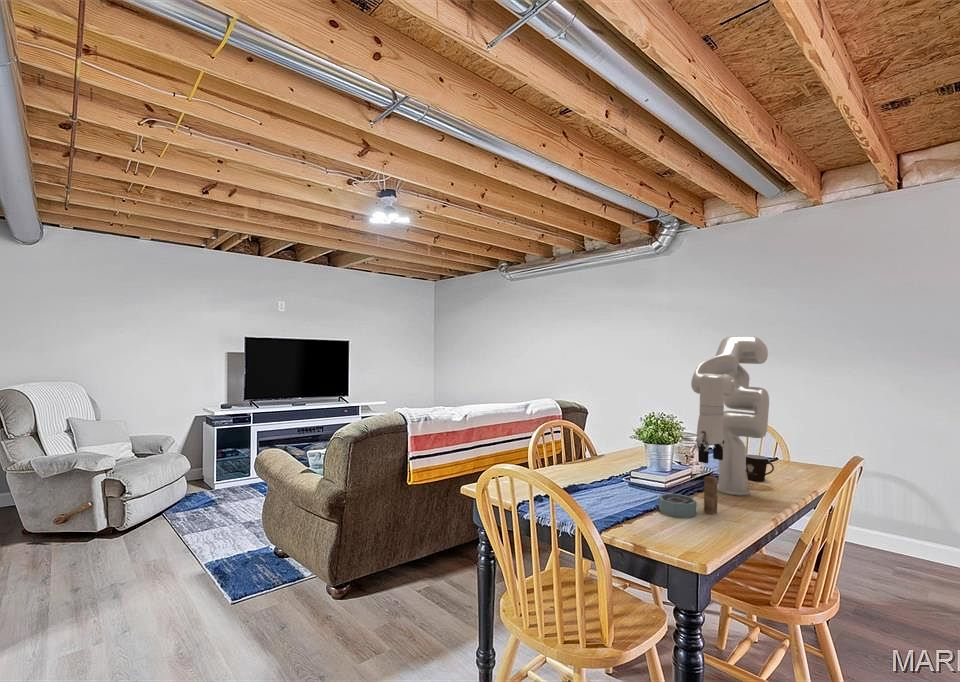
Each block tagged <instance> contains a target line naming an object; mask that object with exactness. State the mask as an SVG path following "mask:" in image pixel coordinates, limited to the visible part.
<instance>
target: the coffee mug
mask: <svg viewBox="0 0 960 682" xmlns="http://www.w3.org/2000/svg"><path fill="white" fill-rule="evenodd" d="M768 460H769V458H768V457H767V456H764V455H760V454H746V477H747V478H746V479H748V481H750V482H751V481H752V482H757V483H764V482H765V479H766V476H767V475H770V474H772V472H774V470H775V466H774V465H773V463H771V462H768ZM767 465H770V466H771V470H770V471H769V472H767Z"/></svg>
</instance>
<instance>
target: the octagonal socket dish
mask: <svg viewBox="0 0 960 682" xmlns="http://www.w3.org/2000/svg"><path fill="white" fill-rule="evenodd" d="M658 510H659V511H660V513H661V514H663V515H666V516H670V517H672V518H680V519H681V518H685V519H690V518H693V517H695V516H697V501H696V499H694V497H692V496H687V495H684V494H680V493H664V494H660V495H658Z"/></svg>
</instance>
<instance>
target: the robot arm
mask: <svg viewBox="0 0 960 682" xmlns="http://www.w3.org/2000/svg"><path fill="white" fill-rule="evenodd" d="M766 345H767V344H765V343H764V341H763V340H761V339H760V338H759V337H757V336H752V335H751V336H749V335H747V336H745V335H744V336H742V335H741V336H737V335H736V336H733V335H732V336H726V337H724V338H723V339H722V340H721V341H720V343H719V346H718V349H717V350H716V352H715V355H714V356H713V357H710V358H709V359H706V360H704V361H703V362H701V363H700V364H699V365H697V367H696V368H695V370H694V373H693V375H692V378H691V382H690V383H691V389H692V391H693V392H694V393H695V394H697V395H699V415H698V420H697V428H696V429H697V430H696V438H695V439H696V440H695V441H696V446H697V451H698V460H697V461H698V462H699V463H702V464H709V451H708V449H709V448H710V446H713V447H712V458H713V460H718V483H717V493H721V494H725V495H726V494H727V495H731V496H749V495H750V493H751V490H750V489H749V488H747V487H746V486H747V485H746V484H749V481H750V480H748V479H747V478H746V477H747V470H746V455H747V448H746V445H745V443H744V442H743V440H742V439H741V438H740V437H743V438H744V437H745V438H752V439H753V438H754V439H762V438H765V437H766V435H767V432H768V424H769V410H770V396H769V392H768V391H767V390H766V389H765V388H763V387H758V386H756V387H755V386H750V379H751V377H750V375H749V373H748V372H747V370H746V369H745V368H744V367H743V366H741V364H746V365H747V364H750V365H751V364H752V365H762V364H764V363H766V361H767V359H768V356H769V353H768V352H769V351H768V347H767V346H766ZM724 406H725V407H726V408H728V409H730V410H725V407H724ZM736 410H737V411H736ZM744 411H745V412H744ZM746 411H747V412H746ZM749 411H750V412H749Z"/></svg>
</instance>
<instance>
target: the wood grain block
mask: <svg viewBox="0 0 960 682" xmlns="http://www.w3.org/2000/svg"><path fill="white" fill-rule="evenodd" d="M703 481H704V486H703V487H704V489H703V491H704V492H703V499H704V500H703V512H704V514H705V513H706V514H709V515H716V514H717V513H718V491H717V484H718V477H716V476H711V475H708V476H704V479H703Z"/></svg>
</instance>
